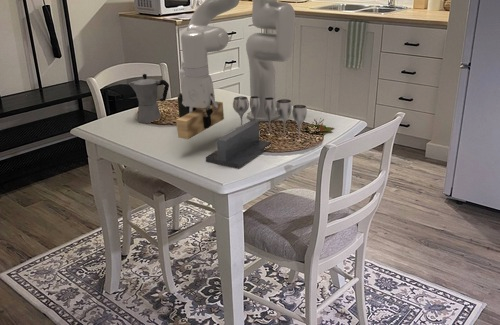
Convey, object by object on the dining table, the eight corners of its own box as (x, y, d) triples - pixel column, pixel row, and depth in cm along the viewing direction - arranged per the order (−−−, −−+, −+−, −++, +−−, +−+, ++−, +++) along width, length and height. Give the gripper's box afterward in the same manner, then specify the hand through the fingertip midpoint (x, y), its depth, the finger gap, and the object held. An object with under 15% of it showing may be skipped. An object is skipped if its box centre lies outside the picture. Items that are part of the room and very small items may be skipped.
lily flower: (294, 133, 177) (294, 121, 175) (310, 124, 186) (310, 112, 184) (325, 139, 171) (325, 126, 169) (340, 129, 180) (341, 117, 178)
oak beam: (214, 117, 174) (213, 100, 172) (223, 119, 172) (222, 102, 170) (178, 137, 159) (176, 119, 156) (188, 139, 157) (186, 121, 155)
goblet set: (309, 139, 171) (309, 101, 165) (301, 144, 166) (302, 105, 161) (239, 127, 184) (237, 91, 179) (230, 131, 180) (229, 95, 174)
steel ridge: (240, 140, 171) (239, 118, 168) (271, 146, 165) (271, 123, 162) (206, 161, 155) (204, 137, 152) (238, 168, 149) (237, 143, 146)
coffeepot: (129, 124, 191) (123, 77, 184) (136, 116, 200) (130, 71, 193) (169, 123, 190) (165, 76, 183) (174, 115, 199) (170, 70, 192)
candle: (193, 132, 180) (187, 62, 170) (179, 131, 181) (173, 62, 171) (197, 127, 185) (192, 59, 175) (184, 127, 186) (178, 59, 176)
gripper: (168, 71, 159) (174, 126, 167) (211, 76, 151) (216, 133, 158) (183, 66, 165) (188, 118, 172) (225, 70, 157) (229, 125, 164)
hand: (201, 125), depth 165 cm, fingers closed on oak beam, 4 cm apart
